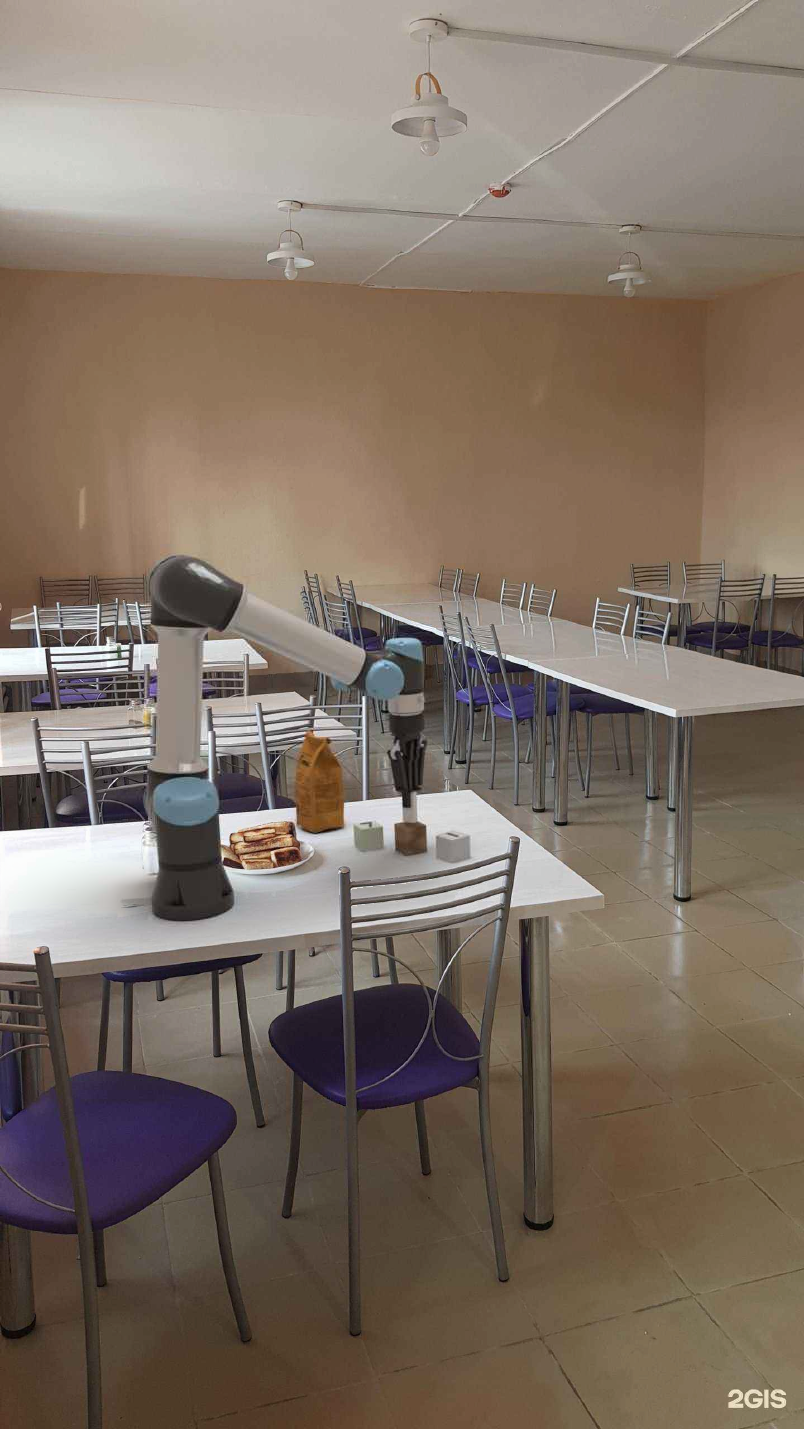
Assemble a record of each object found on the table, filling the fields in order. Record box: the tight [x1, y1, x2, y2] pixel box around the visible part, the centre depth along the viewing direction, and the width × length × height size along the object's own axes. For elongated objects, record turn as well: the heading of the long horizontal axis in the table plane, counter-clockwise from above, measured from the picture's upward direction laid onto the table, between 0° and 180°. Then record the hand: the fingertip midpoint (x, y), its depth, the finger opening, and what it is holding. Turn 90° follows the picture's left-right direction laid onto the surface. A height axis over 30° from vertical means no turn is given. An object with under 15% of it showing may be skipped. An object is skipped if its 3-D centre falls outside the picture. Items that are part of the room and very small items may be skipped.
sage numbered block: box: [353, 820, 385, 853], centre depth 231 cm, size 5×5×5 cm
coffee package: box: [294, 730, 345, 834], centre depth 246 cm, size 10×12×22 cm
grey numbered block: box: [435, 829, 471, 864], centre depth 221 cm, size 5×5×5 cm
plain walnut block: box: [393, 820, 428, 857], centre depth 226 cm, size 5×5×6 cm
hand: (410, 821), depth 226 cm, fingers closed
